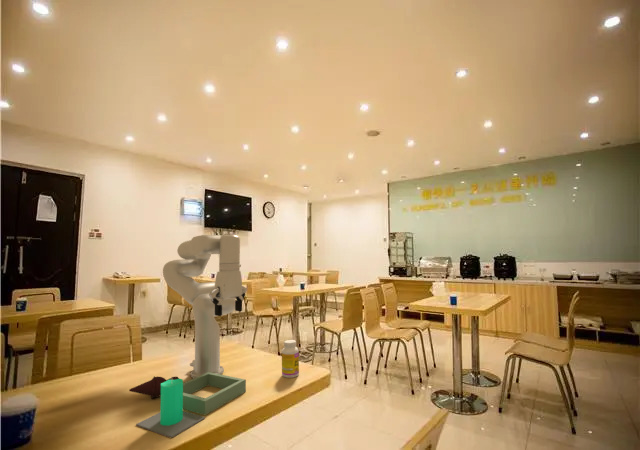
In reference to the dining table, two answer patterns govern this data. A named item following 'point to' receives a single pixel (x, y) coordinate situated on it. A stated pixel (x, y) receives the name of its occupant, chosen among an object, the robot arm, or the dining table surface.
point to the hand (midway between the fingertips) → (228, 313)
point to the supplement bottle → (290, 359)
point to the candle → (171, 402)
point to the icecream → (151, 387)
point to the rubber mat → (171, 430)
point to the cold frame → (206, 405)
